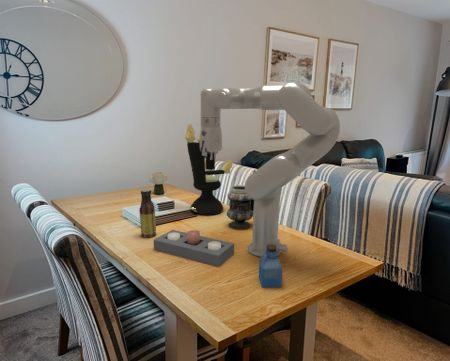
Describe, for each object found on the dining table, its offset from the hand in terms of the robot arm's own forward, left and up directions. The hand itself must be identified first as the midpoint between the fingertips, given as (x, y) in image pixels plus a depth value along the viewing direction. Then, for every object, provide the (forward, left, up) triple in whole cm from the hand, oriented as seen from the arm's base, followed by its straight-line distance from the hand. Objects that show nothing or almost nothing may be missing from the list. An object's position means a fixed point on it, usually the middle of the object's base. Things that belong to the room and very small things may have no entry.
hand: (210, 169), depth 135 cm
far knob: (+8, +14, -29) cm, 33 cm away
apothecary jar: (-4, -20, -29) cm, 36 cm away
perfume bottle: (-34, +21, -29) cm, 50 cm away
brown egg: (-1, +14, -26) cm, 30 cm away
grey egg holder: (-1, +14, -29) cm, 32 cm away
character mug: (+62, -45, -29) cm, 82 cm away
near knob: (-10, +14, -29) cm, 34 cm away
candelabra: (+20, -29, -29) cm, 46 cm away
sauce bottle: (+24, +10, -29) cm, 39 cm away
